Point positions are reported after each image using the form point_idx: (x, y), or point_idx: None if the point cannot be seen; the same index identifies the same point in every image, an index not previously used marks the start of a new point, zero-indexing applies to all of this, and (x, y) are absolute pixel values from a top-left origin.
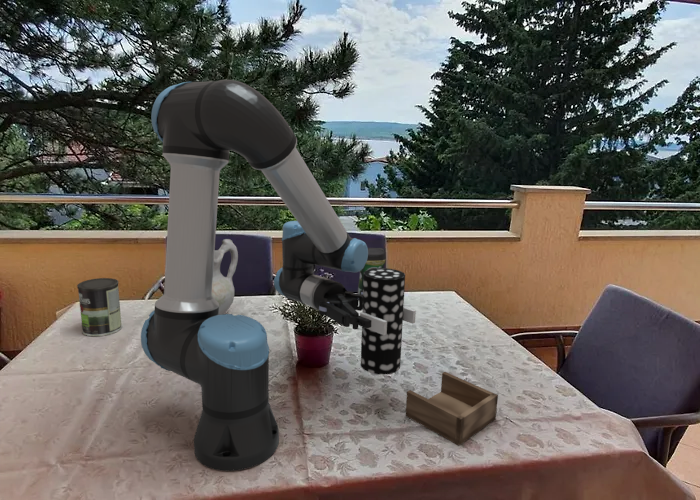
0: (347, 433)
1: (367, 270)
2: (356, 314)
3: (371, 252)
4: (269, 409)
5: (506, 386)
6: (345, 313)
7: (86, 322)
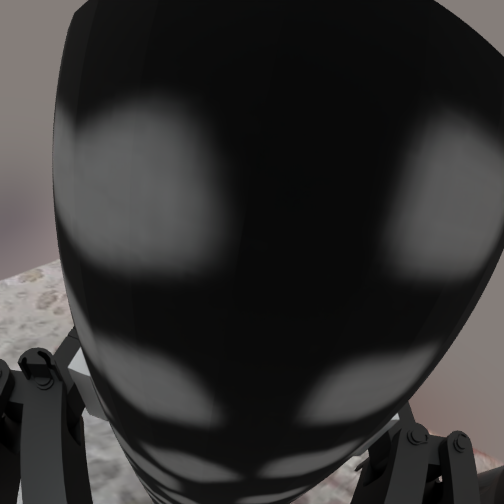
0: (333, 482)
1: (475, 46)
2: (418, 424)
3: None
4: (483, 492)
5: (31, 325)
6: (461, 460)
7: None
